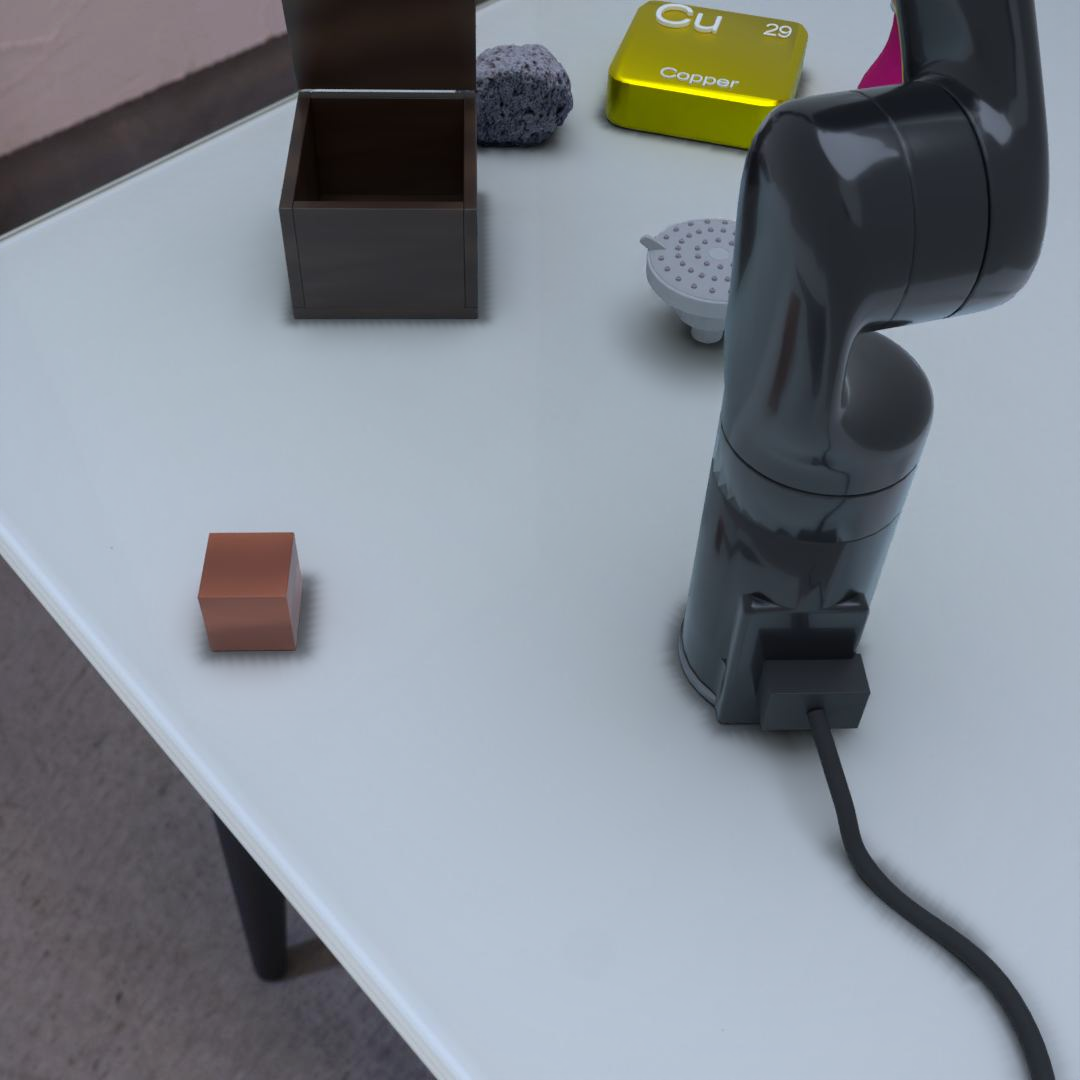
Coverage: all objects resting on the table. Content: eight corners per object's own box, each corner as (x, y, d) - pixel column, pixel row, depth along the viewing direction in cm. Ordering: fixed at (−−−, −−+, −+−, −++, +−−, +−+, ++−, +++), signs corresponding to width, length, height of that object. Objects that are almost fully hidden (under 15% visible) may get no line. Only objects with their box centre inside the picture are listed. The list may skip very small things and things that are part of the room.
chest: (478, 318, 92) (477, 209, 85) (293, 318, 91) (278, 208, 84) (477, 198, 101) (476, 92, 95) (311, 197, 101) (298, 90, 94)
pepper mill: (944, 148, 108) (1016, -102, 93) (912, 188, 104) (982, -67, 89) (863, 121, 111) (921, -126, 96) (828, 160, 107) (883, -93, 92)
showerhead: (650, 195, 90) (797, 216, 88) (641, 282, 95) (779, 302, 94) (629, 277, 83) (786, 300, 82) (620, 365, 89) (768, 387, 88)
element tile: (599, 125, 109) (603, 71, 106) (638, 42, 119) (643, -10, 115) (777, 156, 107) (787, 102, 103) (803, 68, 116) (813, 16, 113)
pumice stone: (481, 117, 114) (433, 142, 106) (489, 24, 110) (439, 42, 102) (593, 141, 111) (552, 168, 103) (605, 46, 107) (563, 67, 99)
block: (295, 650, 72) (286, 596, 68) (211, 651, 72) (197, 597, 68) (303, 586, 75) (294, 531, 71) (221, 586, 75) (208, 532, 71)
